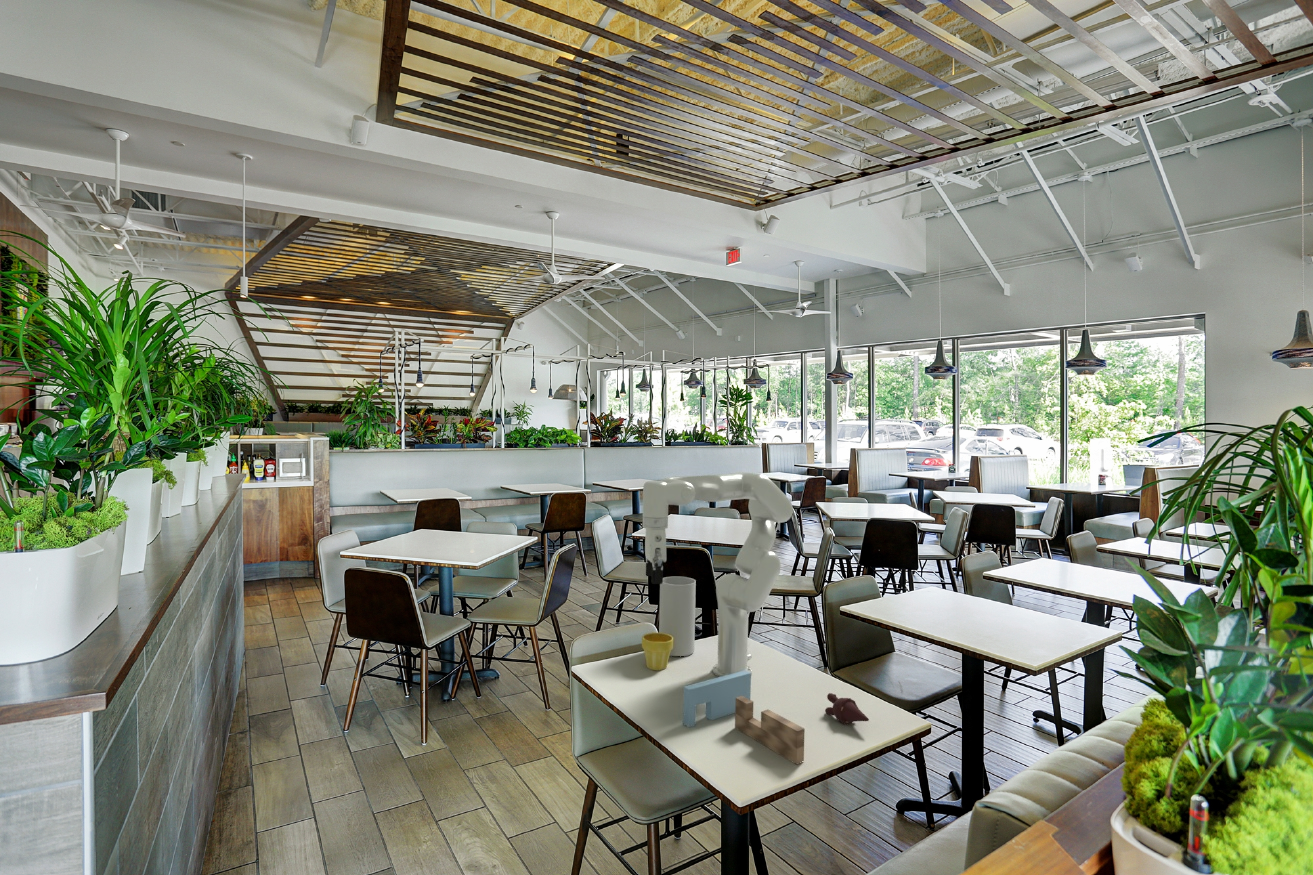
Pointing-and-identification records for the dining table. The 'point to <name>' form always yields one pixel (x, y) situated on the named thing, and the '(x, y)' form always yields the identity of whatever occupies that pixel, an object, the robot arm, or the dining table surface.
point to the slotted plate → (715, 696)
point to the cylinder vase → (678, 613)
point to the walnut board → (770, 730)
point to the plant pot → (657, 649)
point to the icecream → (844, 710)
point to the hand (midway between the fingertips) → (653, 579)
